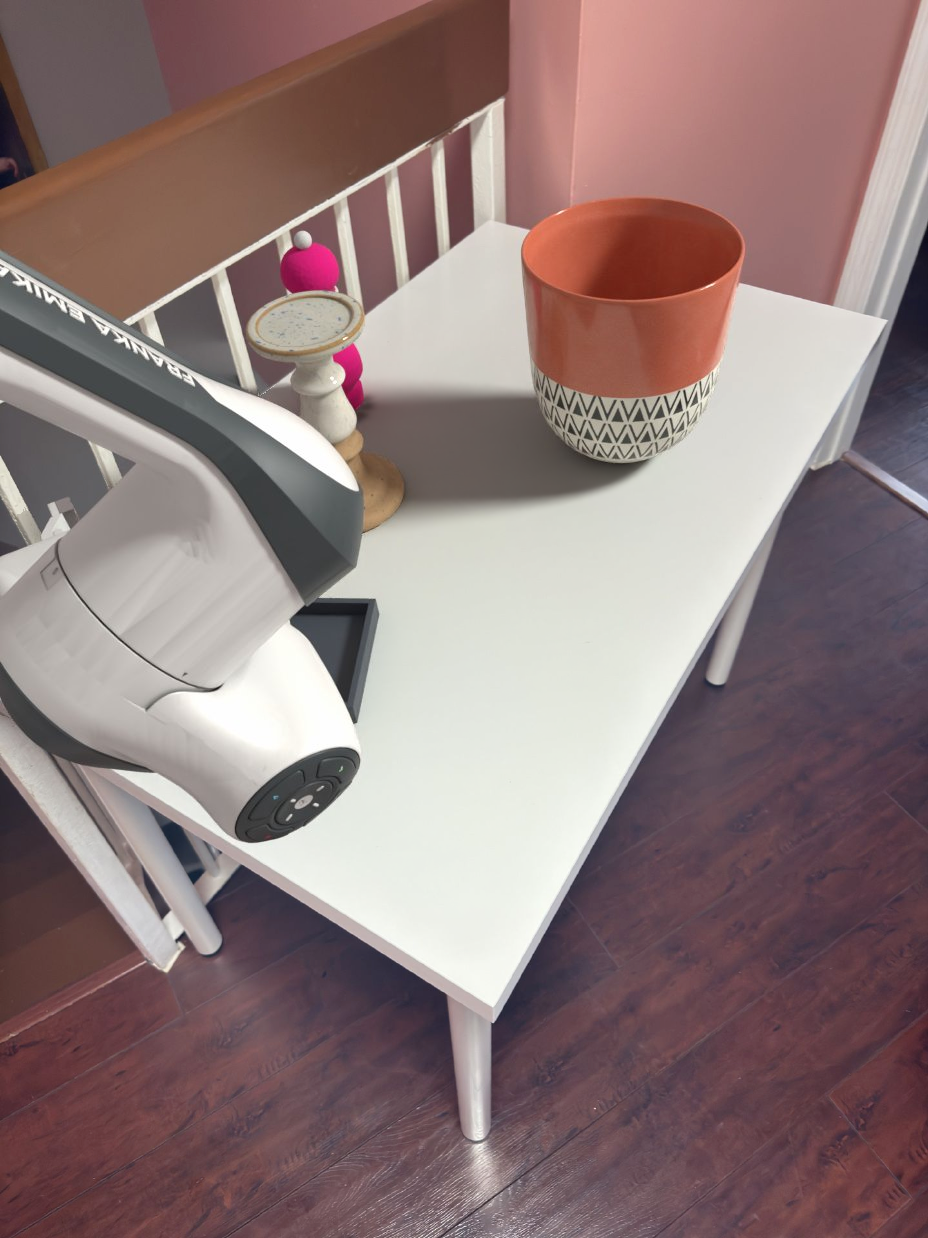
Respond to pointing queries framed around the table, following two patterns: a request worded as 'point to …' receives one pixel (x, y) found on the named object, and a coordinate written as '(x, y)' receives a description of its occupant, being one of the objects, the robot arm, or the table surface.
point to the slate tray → (342, 642)
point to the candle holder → (327, 383)
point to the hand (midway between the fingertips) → (130, 481)
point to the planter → (628, 320)
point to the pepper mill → (320, 271)
